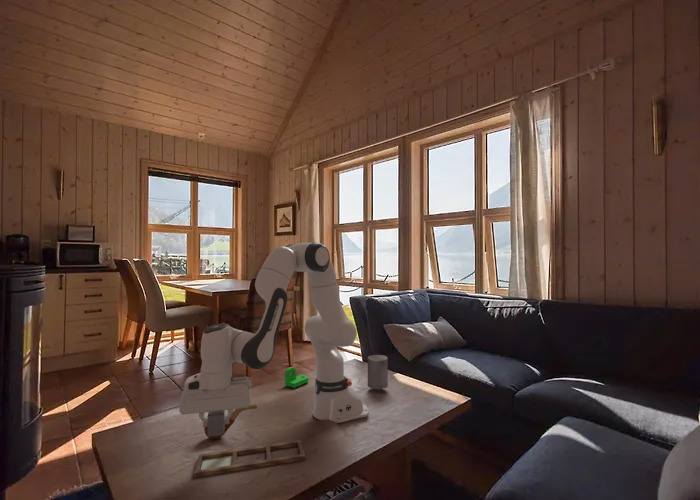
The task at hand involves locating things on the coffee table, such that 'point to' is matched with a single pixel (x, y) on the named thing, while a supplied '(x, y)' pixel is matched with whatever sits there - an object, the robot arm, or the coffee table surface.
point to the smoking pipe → (231, 420)
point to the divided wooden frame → (227, 463)
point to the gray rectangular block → (215, 423)
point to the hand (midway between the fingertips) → (216, 424)
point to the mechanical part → (294, 378)
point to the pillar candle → (377, 372)
